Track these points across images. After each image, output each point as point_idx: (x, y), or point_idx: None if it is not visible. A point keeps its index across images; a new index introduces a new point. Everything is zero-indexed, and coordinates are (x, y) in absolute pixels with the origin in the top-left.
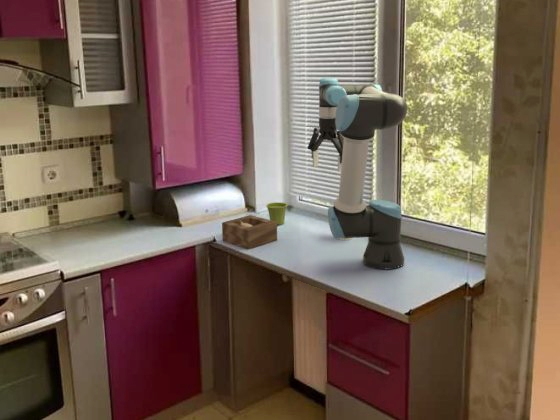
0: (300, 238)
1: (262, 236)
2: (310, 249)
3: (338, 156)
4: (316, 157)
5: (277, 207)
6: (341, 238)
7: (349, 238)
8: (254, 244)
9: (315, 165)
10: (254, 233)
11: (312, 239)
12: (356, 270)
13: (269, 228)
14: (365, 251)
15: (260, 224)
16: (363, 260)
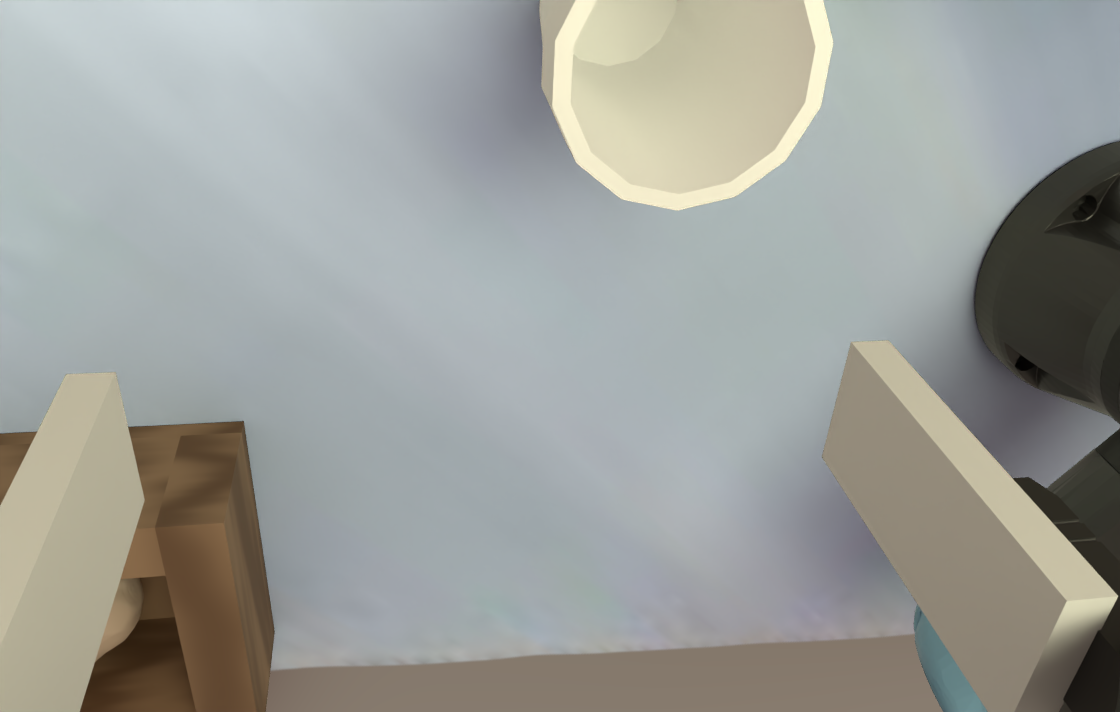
0: (327, 268)
1: (254, 586)
2: (572, 389)
3: (1009, 710)
4: (64, 596)
5: None
6: (622, 66)
7: (678, 13)
8: (266, 611)
9: (128, 477)
10: (258, 672)
11: (421, 221)
12: (993, 450)
13: (240, 564)
14: (1030, 360)
15: (192, 634)
16: (1000, 360)
